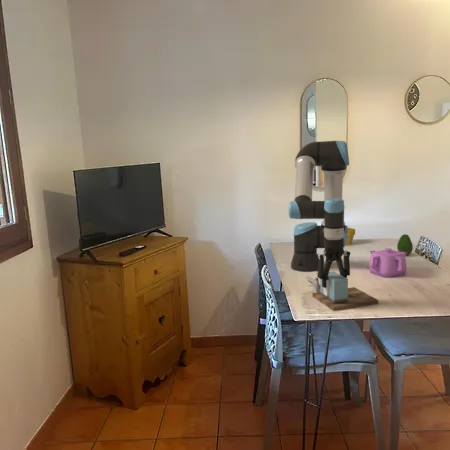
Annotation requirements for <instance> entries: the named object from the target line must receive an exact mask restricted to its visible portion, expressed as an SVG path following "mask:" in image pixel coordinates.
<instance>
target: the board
mask: <svg viewBox="0 0 450 450" xmlns="http://www.w3.org/2000/svg"><path fill="white" fill-rule="evenodd" d="M311 295H312V297H313V298H314V299H316V301H319V302H320V303H321V304H322V305H324V306H326V307H328V308H329V309H330V310H332V311H340V310H346V309H354V308H360V307H365V306H372V305H378V304H379V299H377V298H375V297H373V296H371V295H370V294H368V293H367V292H364V291H362V290H360V289H359V288H357V287H354V286H353V287H348V301H343V302H336V303H334V302H332V301H330V300H329V299H327V298H326V297H324V296H323V295H321V294H320V291H319V292H317V291H316V292H313V293H312V294H311Z"/></svg>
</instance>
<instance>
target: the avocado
mask: <svg viewBox="0 0 450 450" xmlns="http://www.w3.org/2000/svg"><path fill="white" fill-rule="evenodd" d="M413 245H414V244H413V243H412V240H411V238H410V236H409V235H408V234H406V233H405V234H402V235H401V236H400V238H399V239H398V242H397V245H396V246H397V247H396V249H397V251H399V252H407V253H406V256H409V255H410V254H411V253H412V252H413ZM406 256H405V257H406Z"/></svg>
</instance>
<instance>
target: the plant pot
mask: <svg viewBox="0 0 450 450" xmlns="http://www.w3.org/2000/svg"><path fill="white" fill-rule="evenodd" d="M355 235H356V229H355V228H352V227H348V233H347V241H346V245H345V246H351V245H352V244H353V241H354V237H355Z"/></svg>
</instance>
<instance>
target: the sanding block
mask: <svg viewBox="0 0 450 450" xmlns="http://www.w3.org/2000/svg"><path fill="white" fill-rule="evenodd" d="M319 280H320V281H319V292H320V294H321V295H323V296H324V297H326V298H327V299H329V300H330V301H332V302H334V303H336V302H343V301H348V288H349V278H348V277H347V278H345V277H343V276H341V275H340V273H337V272H335V271H329V274H328V277H327V280H329V296H326V295H325V294H324V287H322V279H320V278H319Z"/></svg>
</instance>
